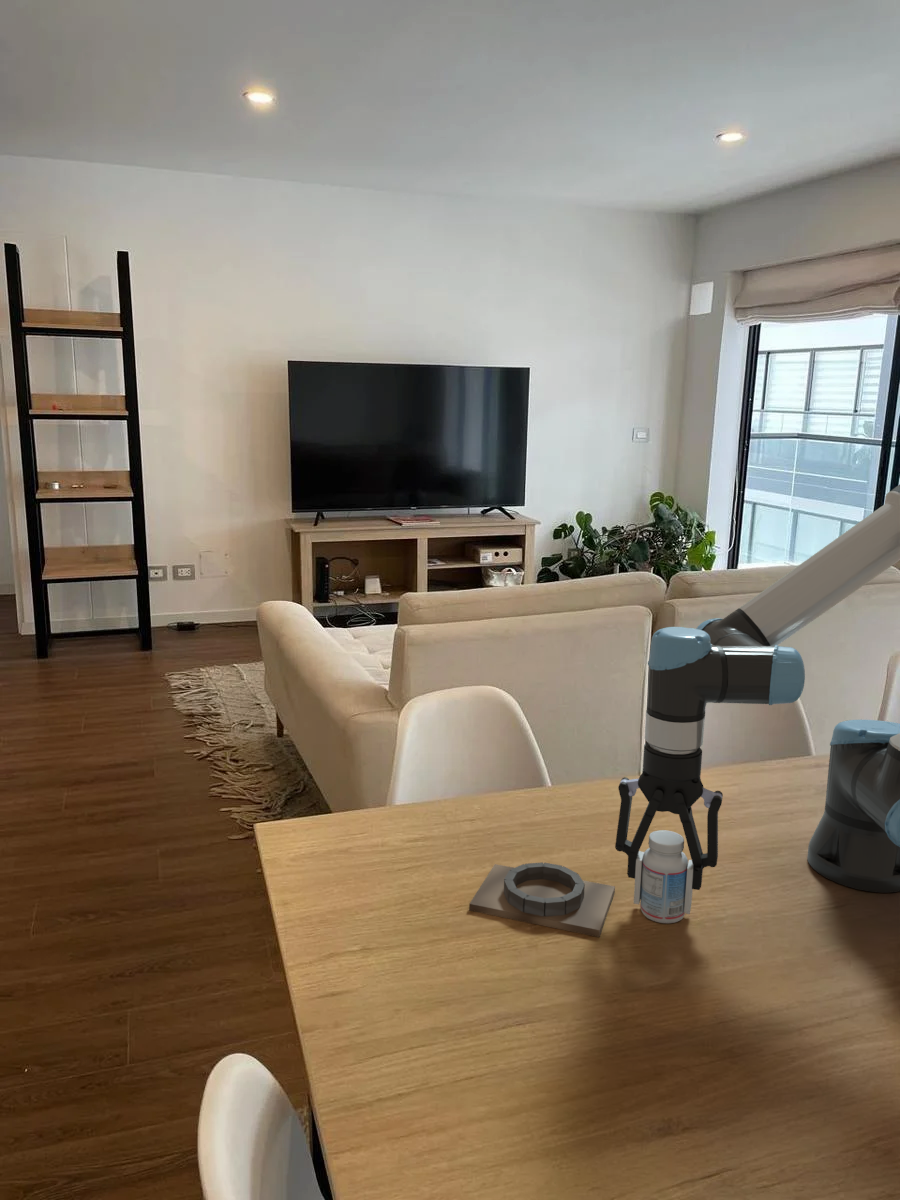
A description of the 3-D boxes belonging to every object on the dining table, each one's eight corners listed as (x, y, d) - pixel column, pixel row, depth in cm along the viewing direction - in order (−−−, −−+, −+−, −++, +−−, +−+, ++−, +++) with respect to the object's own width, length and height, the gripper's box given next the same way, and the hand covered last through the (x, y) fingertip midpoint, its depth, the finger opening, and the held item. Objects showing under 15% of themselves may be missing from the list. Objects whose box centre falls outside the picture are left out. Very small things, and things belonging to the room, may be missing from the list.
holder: (614, 892, 127) (615, 873, 126) (599, 937, 116) (600, 916, 115) (494, 870, 133) (495, 851, 132) (469, 910, 122) (469, 890, 121)
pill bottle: (680, 902, 124) (686, 828, 122) (687, 926, 118) (693, 849, 116) (637, 900, 125) (641, 826, 123) (642, 923, 119) (646, 846, 117)
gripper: (749, 744, 117) (736, 903, 122) (606, 726, 123) (598, 878, 128) (748, 764, 110) (733, 932, 115) (596, 744, 117) (588, 904, 121)
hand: (662, 903), depth 121 cm, fingers closed on pill bottle, 6 cm apart
